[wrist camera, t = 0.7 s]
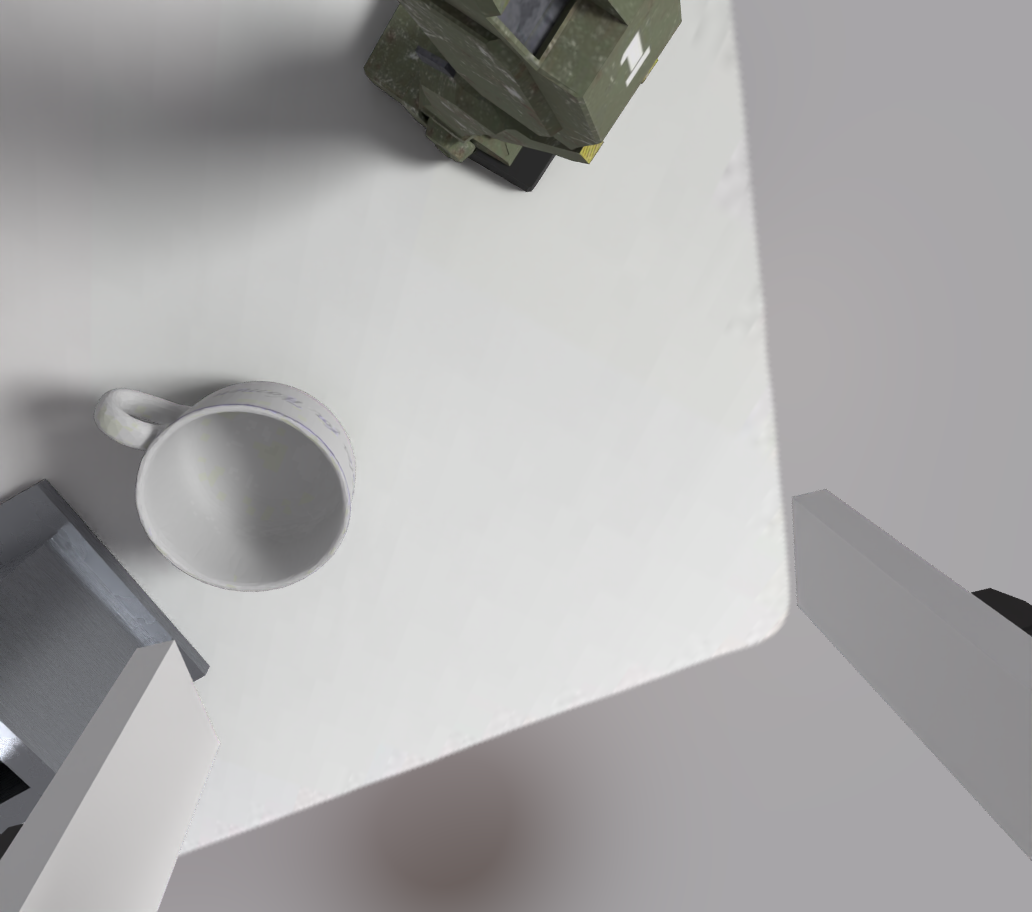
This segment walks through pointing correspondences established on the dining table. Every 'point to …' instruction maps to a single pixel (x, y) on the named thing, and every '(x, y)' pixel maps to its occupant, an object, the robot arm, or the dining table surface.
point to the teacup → (238, 481)
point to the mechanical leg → (520, 74)
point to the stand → (61, 639)
